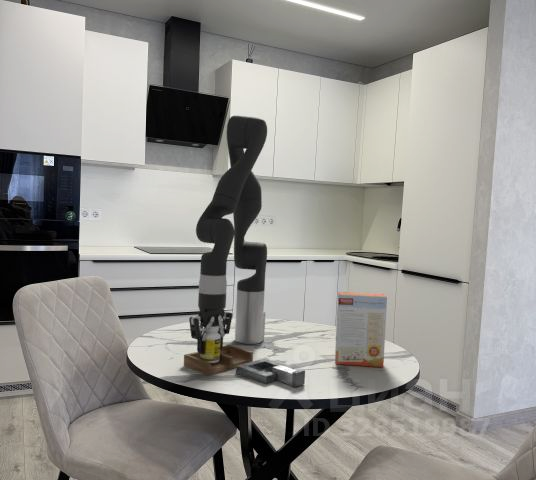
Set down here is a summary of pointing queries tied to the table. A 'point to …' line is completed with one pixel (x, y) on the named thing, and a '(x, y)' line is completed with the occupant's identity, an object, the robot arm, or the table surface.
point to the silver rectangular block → (289, 375)
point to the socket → (253, 370)
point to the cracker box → (360, 329)
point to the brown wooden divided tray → (228, 360)
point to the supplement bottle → (212, 346)
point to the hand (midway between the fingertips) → (210, 351)
